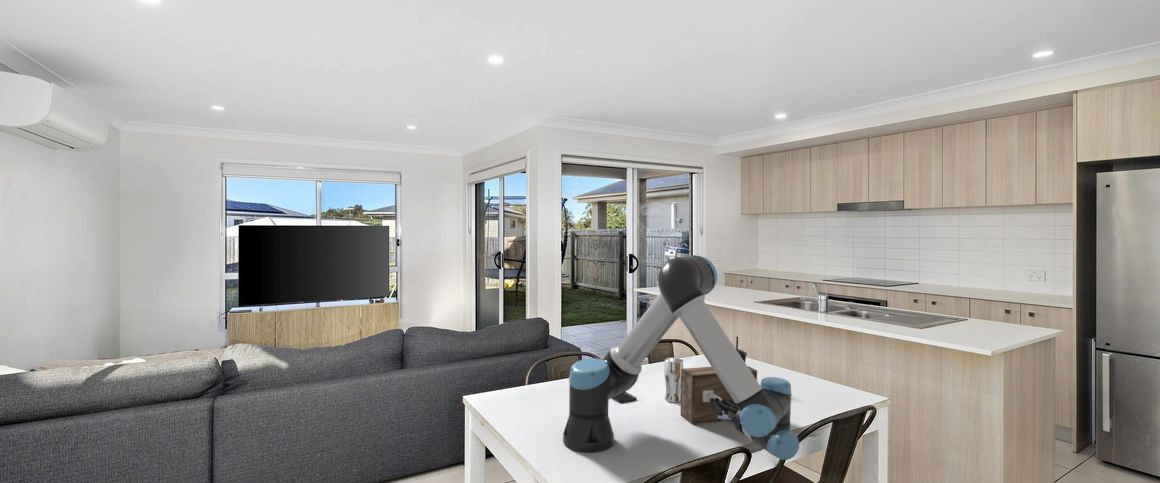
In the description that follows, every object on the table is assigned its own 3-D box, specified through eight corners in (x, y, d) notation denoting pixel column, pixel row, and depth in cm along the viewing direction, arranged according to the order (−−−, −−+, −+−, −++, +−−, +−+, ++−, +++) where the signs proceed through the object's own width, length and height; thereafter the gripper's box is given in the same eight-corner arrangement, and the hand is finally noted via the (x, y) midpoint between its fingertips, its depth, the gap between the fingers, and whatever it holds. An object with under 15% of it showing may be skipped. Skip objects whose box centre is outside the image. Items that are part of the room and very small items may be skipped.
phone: (616, 386, 201) (637, 398, 188) (615, 389, 201) (637, 401, 188) (598, 389, 197) (619, 401, 184) (598, 392, 197) (619, 404, 184)
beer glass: (686, 399, 189) (687, 359, 188) (676, 404, 184) (676, 363, 183) (670, 395, 193) (671, 356, 193) (660, 400, 188) (660, 359, 188)
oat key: (713, 401, 167) (713, 390, 167) (703, 402, 166) (703, 391, 166) (704, 395, 172) (704, 384, 172) (694, 396, 171) (695, 385, 171)
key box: (756, 417, 172) (757, 370, 172) (691, 424, 166) (692, 375, 165) (742, 409, 180) (743, 364, 179) (680, 415, 174) (681, 368, 173)
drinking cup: (748, 385, 207) (749, 336, 206) (743, 390, 200) (744, 339, 199) (729, 381, 211) (730, 333, 210) (723, 386, 204) (724, 337, 204)
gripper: (731, 440, 142) (690, 409, 164) (772, 435, 145) (726, 406, 168) (732, 413, 142) (691, 386, 164) (772, 409, 145) (727, 383, 168)
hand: (709, 396), depth 166 cm, fingers closed
